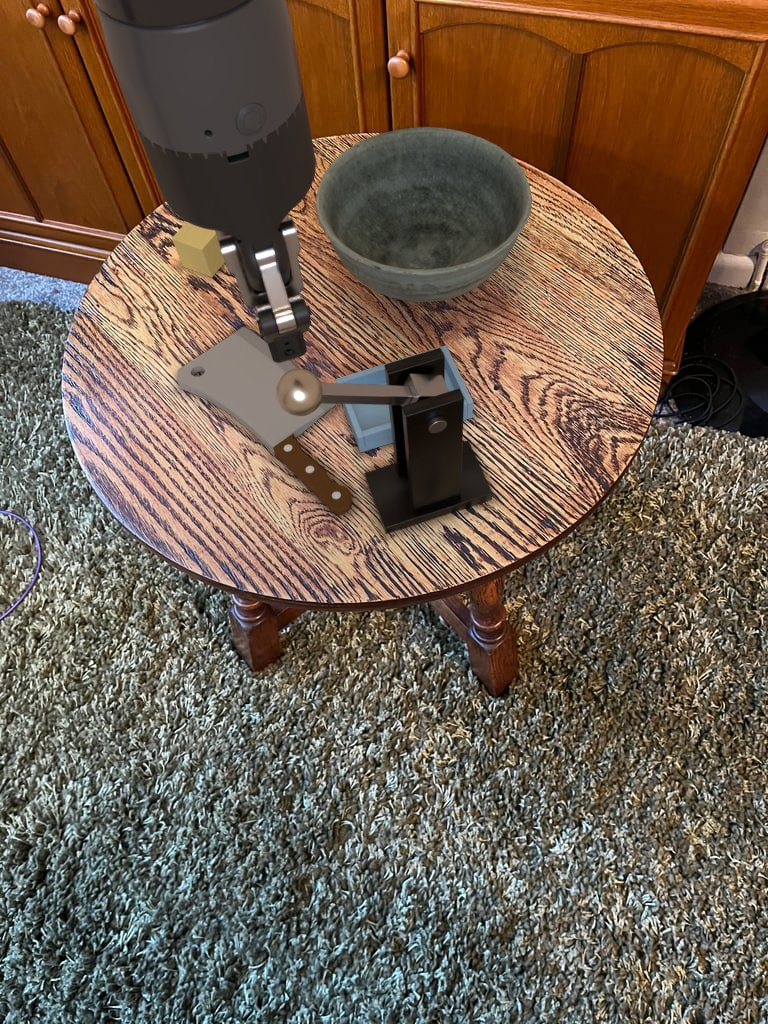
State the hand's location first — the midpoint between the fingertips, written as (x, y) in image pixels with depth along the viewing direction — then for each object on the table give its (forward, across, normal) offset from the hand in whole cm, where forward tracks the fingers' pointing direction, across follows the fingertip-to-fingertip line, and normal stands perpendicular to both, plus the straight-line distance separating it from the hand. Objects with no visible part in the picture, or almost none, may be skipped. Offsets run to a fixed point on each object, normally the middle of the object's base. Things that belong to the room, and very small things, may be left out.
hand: (288, 351), depth 48 cm
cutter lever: (+8, 0, +4) cm, 9 cm away
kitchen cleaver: (+23, -12, -2) cm, 26 cm away
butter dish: (+23, -10, +10) cm, 27 cm away
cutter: (+23, 0, +9) cm, 25 cm away
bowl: (+23, -26, +18) cm, 39 cm away
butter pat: (+23, -36, -4) cm, 43 cm away
